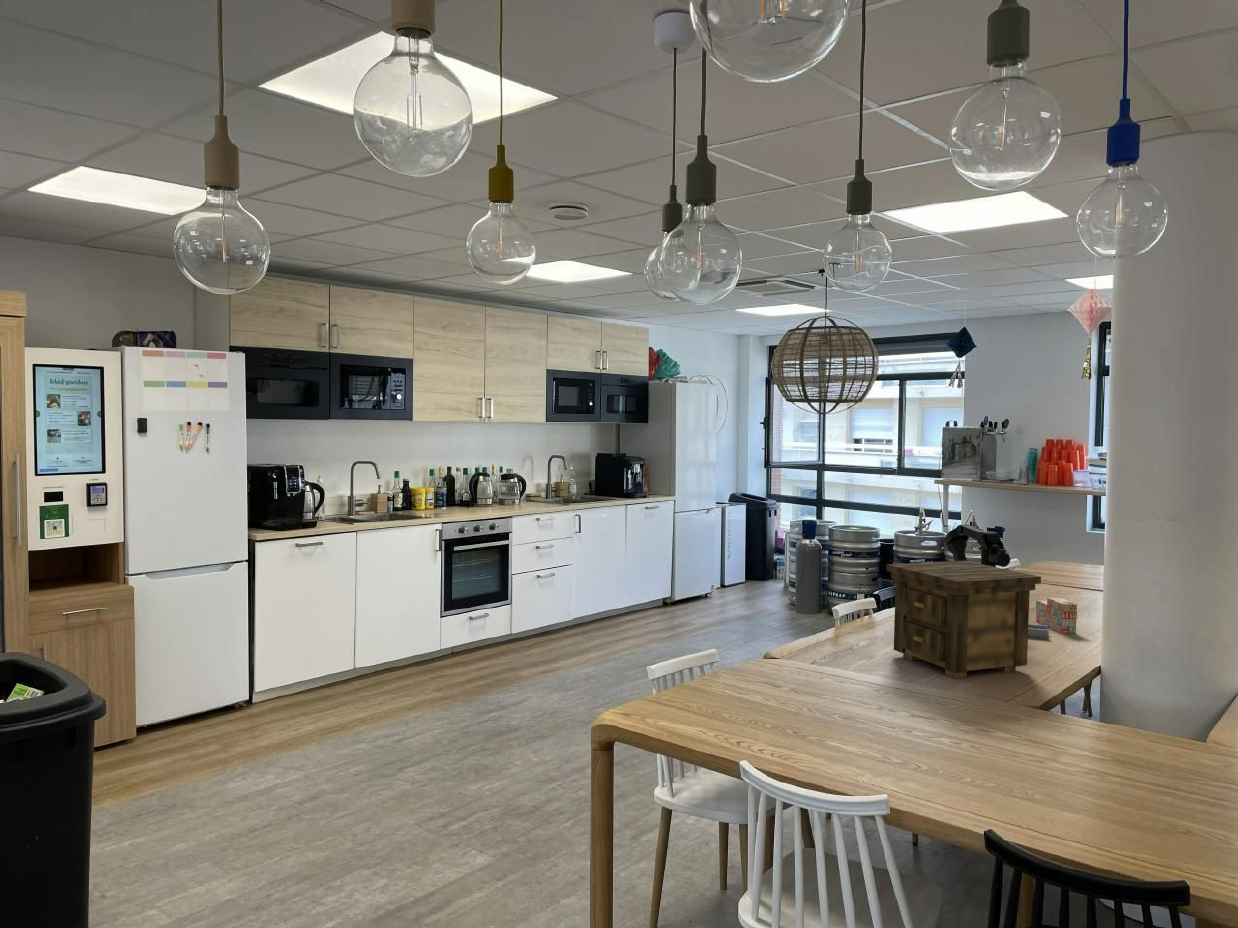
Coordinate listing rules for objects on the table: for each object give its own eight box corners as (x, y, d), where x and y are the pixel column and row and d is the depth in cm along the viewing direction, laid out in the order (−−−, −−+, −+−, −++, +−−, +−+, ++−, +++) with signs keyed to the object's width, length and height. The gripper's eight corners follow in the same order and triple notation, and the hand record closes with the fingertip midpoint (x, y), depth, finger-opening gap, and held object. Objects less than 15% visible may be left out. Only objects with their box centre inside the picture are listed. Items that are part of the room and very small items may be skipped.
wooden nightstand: (1037, 673, 284) (1041, 576, 283) (954, 683, 272) (957, 581, 271) (961, 647, 317) (964, 560, 316) (883, 654, 305) (886, 564, 303)
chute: (992, 633, 340) (992, 624, 340) (992, 628, 348) (992, 620, 348) (1048, 639, 332) (1048, 630, 332) (1046, 634, 340) (1047, 625, 340)
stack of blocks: (1035, 621, 364) (1036, 593, 363) (1050, 621, 364) (1051, 593, 363) (1060, 633, 342) (1062, 603, 342) (1076, 634, 342) (1077, 603, 342)
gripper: (963, 563, 340) (961, 602, 341) (1014, 567, 333) (1012, 607, 334) (963, 560, 350) (962, 597, 351) (1013, 563, 343) (1012, 601, 344)
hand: (986, 601), depth 345 cm, fingers open, 7 cm apart
